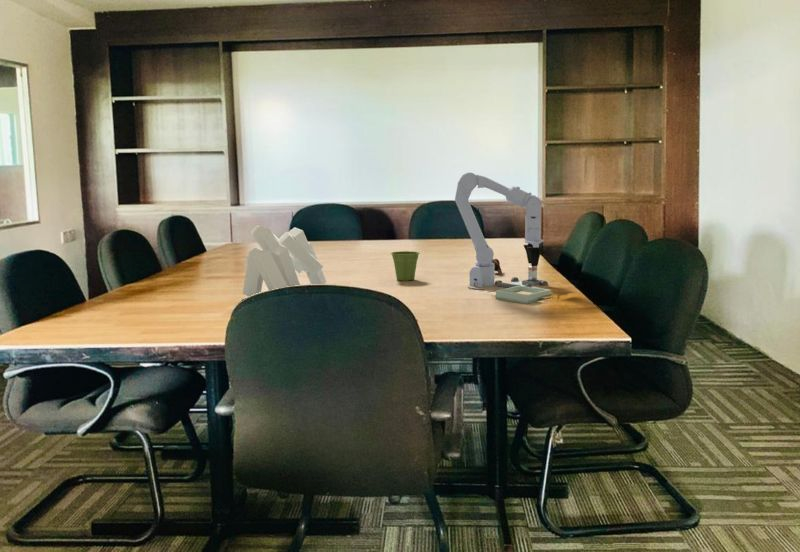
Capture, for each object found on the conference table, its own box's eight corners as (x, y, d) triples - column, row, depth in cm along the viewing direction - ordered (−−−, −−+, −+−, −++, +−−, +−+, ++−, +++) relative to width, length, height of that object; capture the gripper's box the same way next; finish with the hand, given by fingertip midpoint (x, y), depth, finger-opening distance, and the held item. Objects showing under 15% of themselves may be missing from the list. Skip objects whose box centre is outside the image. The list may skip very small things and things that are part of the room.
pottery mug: (499, 277, 311) (489, 260, 310) (481, 285, 316) (471, 269, 316) (509, 266, 320) (499, 250, 319) (492, 274, 326) (482, 258, 325)
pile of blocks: (280, 299, 297) (235, 224, 285) (345, 271, 288) (301, 193, 277) (256, 342, 265) (203, 260, 254) (328, 313, 257) (277, 227, 245)
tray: (527, 303, 250) (527, 295, 250) (495, 299, 260) (495, 290, 259) (550, 298, 259) (551, 289, 259) (519, 293, 269) (519, 285, 269)
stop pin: (533, 285, 277) (533, 266, 276) (526, 284, 280) (526, 266, 278) (538, 284, 279) (538, 266, 278) (531, 283, 282) (531, 265, 281)
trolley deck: (524, 293, 269) (524, 285, 268) (491, 289, 280) (491, 281, 279) (548, 288, 279) (548, 280, 279) (516, 284, 290) (516, 276, 289)
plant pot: (424, 280, 303) (424, 253, 301) (397, 282, 298) (397, 255, 297) (413, 276, 314) (413, 250, 312) (387, 278, 309) (386, 251, 308)
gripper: (547, 229, 269) (546, 267, 271) (540, 226, 283) (540, 261, 285) (527, 230, 269) (527, 267, 271) (522, 226, 283) (521, 262, 286)
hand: (532, 264), depth 278 cm, fingers open, 7 cm apart
